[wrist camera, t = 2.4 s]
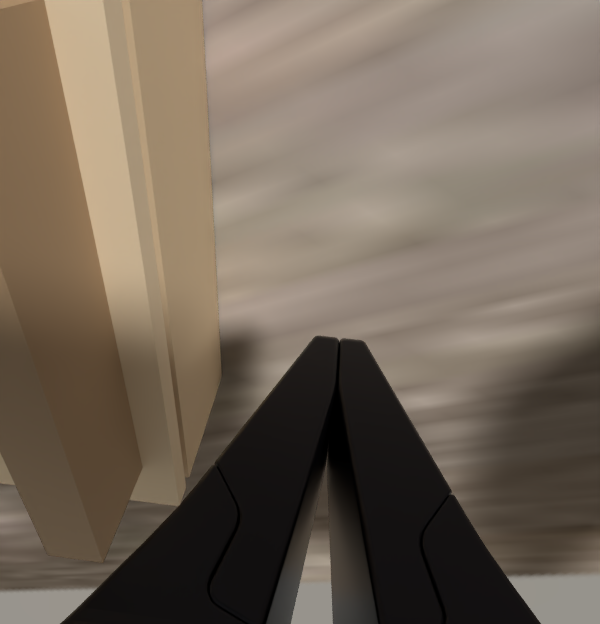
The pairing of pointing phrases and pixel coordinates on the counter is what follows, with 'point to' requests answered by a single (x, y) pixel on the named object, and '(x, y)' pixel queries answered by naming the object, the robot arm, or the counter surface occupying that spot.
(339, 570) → the robot arm
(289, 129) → the counter surface
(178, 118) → the box
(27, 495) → the lid
